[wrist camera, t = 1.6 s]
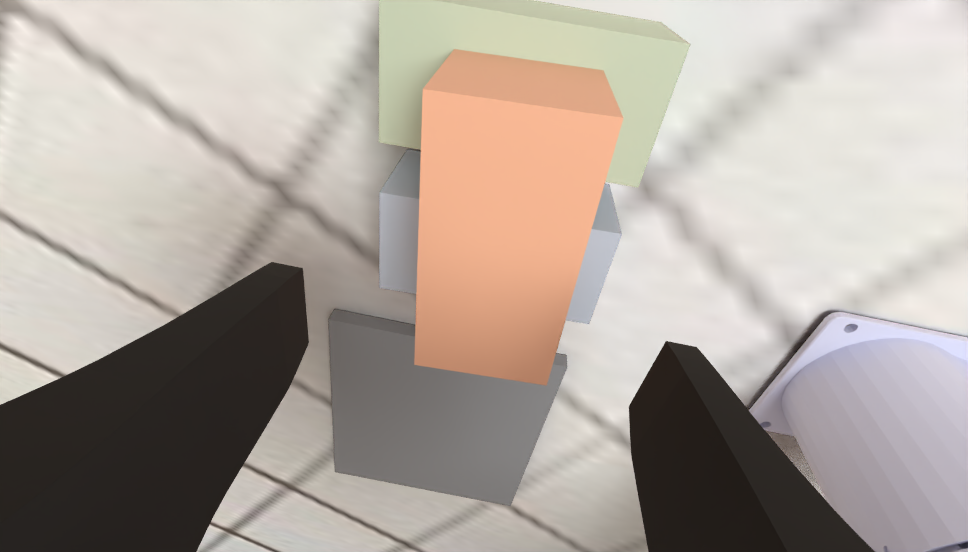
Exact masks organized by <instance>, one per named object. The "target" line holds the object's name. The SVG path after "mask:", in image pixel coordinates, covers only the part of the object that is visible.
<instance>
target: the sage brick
mask: <svg viewBox="0 0 968 552" xmlns="http://www.w3.org/2000/svg"><path fill="white" fill-rule="evenodd" d="M689 47H690V44H689V43H688V42H687V41H685V40H684V39H683V38H681V37H680V36H679V35H677V34H676V33H675V32H673V31H672V30H671V29H669V28H668V27H667V26H666V25H664V24H663V23H662V22H657V21H651V20H645V19H639V18H633V17H628V16H622V15H616V14H610V13H604V12H598V11H593V10H587V9H581V8H575V7H569V6H563V5H558V4H552V3H546V2H540V1H534V0H379V143H384V144H390V145H396V146H402V147H408V148H413V149H419V150H421V128H422V95H423V88H424V87H425V85H426V84H427V83H428V82H429V80H430V79H431V78H432V77H433V75H434V74H435V73H436V71H437V70H438V69H439V68H440V66H441V65H442V64H443V63H444V61H445V60H446V59H447V58H448V56H449V55H450V54H451V53H452V51H453V50H454V49H458V50H465V51H472V52H479V53H486V54H493V55H500V56H507V57H514V58H521V59H528V60H535V61H542V62H549V63H556V64H563V65H570V66H577V67H584V68H591V69H598V70H604V73H605V75H606V78H607V80H608V82H609V85H610V87H611V89H612V92H613V94H614V97H615V99H616V101H617V104H618V106H619V108H620V111H621V113H622V115H623V122H622V125H621V129H620V132H619V136H618V139H617V143H616V146H615V150H614V153H613V157H612V160H611V163H610V167H609V170H608V174H607V177H606V181H605V182H609V183H615V184H621V185H626V186H632V187H639V184H640V181H641V178H642V176H643V173H644V170H645V167H646V165H647V162H648V159H649V156H650V154H651V151H652V148H653V145H654V143H655V140H656V137H657V135H658V132H659V129H660V126H661V124H662V121H663V118H664V115H665V113H666V110H667V107H668V104H669V102H670V99H671V96H672V93H673V91H674V88H675V85H676V82H677V80H678V77H679V74H680V72H681V69H682V66H683V63H684V61H685V58H686V55H687V52H688V50H689Z"/></svg>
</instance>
